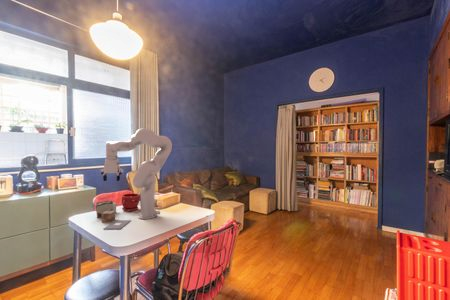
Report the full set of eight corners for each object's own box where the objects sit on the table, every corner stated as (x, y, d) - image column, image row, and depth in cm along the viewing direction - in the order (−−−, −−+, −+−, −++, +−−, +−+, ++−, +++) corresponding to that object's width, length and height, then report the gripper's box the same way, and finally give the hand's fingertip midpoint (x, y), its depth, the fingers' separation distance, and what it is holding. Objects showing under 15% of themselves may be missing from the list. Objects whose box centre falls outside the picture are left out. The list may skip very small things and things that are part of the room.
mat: (130, 221, 145) (130, 220, 145) (120, 229, 130) (120, 228, 130) (115, 221, 144) (115, 220, 144) (103, 229, 129) (103, 228, 129)
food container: (109, 212, 163) (109, 199, 162) (113, 214, 159) (113, 200, 159) (91, 217, 152) (91, 203, 152) (95, 218, 149) (95, 204, 149)
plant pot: (124, 213, 162) (124, 197, 162) (119, 209, 171) (119, 194, 171) (142, 210, 171) (142, 194, 170) (136, 206, 180) (136, 192, 180)
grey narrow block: (117, 211, 166) (117, 202, 166) (113, 214, 160) (113, 204, 160) (109, 211, 166) (109, 202, 166) (105, 214, 160) (105, 204, 160)
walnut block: (115, 219, 148) (115, 210, 148) (110, 222, 142) (110, 213, 142) (106, 219, 148) (106, 210, 148) (101, 222, 142) (101, 213, 142)
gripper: (125, 158, 166) (125, 180, 166) (102, 157, 166) (102, 180, 166) (120, 158, 159) (120, 181, 159) (97, 158, 159) (97, 181, 159)
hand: (111, 180), depth 163 cm, fingers open, 9 cm apart
